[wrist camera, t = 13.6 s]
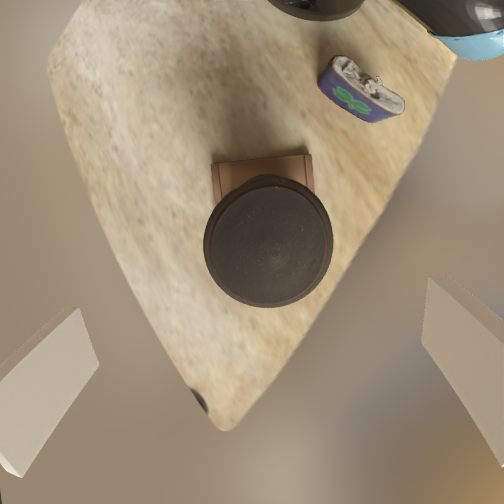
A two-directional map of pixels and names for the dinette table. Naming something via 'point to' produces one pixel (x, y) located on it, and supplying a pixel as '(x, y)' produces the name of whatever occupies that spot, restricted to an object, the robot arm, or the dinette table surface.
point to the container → (268, 242)
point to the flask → (358, 91)
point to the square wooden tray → (261, 172)
